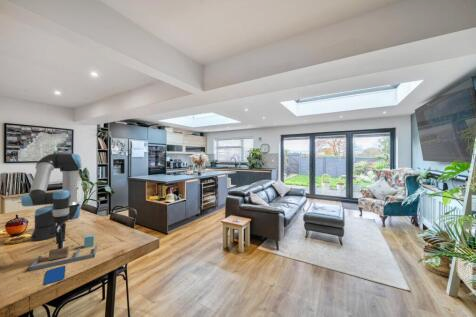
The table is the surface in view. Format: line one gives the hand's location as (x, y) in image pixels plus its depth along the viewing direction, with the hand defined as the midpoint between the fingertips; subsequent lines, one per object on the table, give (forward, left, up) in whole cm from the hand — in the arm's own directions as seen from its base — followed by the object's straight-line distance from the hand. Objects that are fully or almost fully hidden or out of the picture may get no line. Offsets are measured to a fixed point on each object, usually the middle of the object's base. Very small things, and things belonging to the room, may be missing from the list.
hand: (60, 252), depth 116 cm
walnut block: (+4, 0, -1) cm, 4 cm away
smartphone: (+26, +3, -2) cm, 26 cm away
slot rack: (+7, +4, -2) cm, 8 cm away
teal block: (-7, +13, -2) cm, 15 cm away
